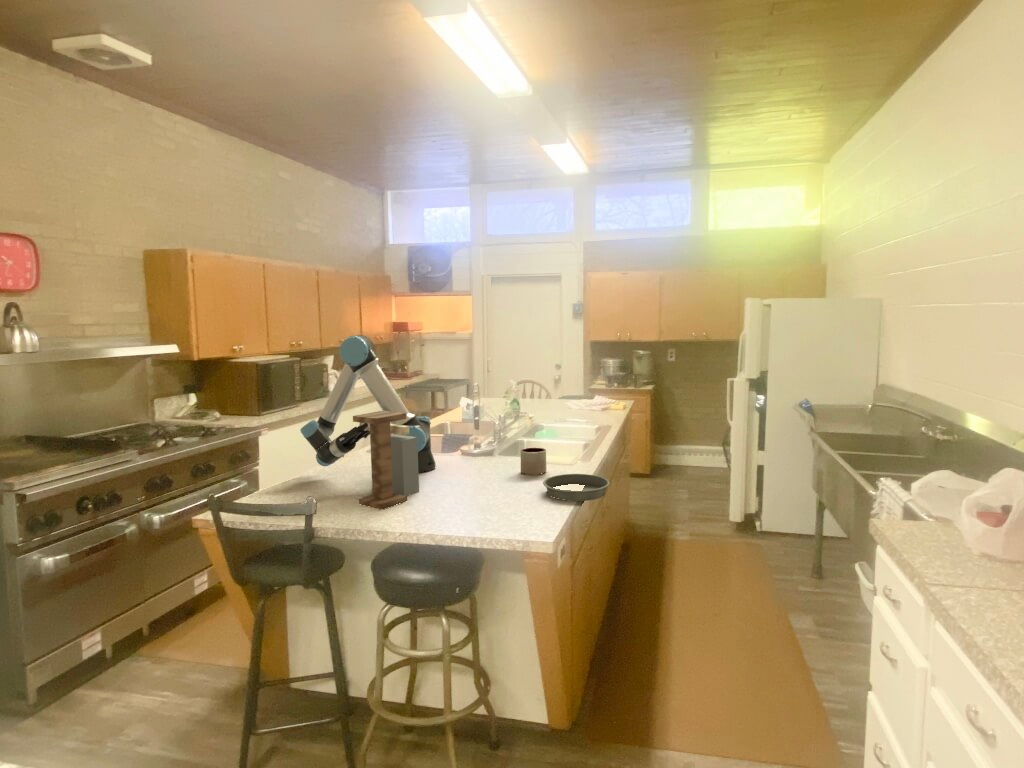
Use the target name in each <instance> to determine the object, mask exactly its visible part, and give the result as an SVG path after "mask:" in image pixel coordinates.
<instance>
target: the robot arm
mask: <svg viewBox="0 0 1024 768" xmlns="http://www.w3.org/2000/svg"><path fill="white" fill-rule="evenodd" d="M375 350H376V349H375V345H374V342H373V340H372V339H371V338H370V337H368V336H367V335H362V334H359V335H358V334H357V335H351V336H349V337H346V339H344V340H342V343H341V344H340V346H339V349H338V353H339V357H340V359H341V361H342V362H343V363H344V365H343V367H342V370H341V371H340V374H339V376H338V377H337V380H336V382H335V384H334V386H333V388H332V390H331V391H330V394H329V395H328V399H327V400H326V403H325V404H324V406H323V408H322V411H321V412H320V415H319V417H318V420H317V421H316V420H315V419H312V420H310V421H308V422H307V423H306V424H305V425H303V426H302V427H301V428H300V433H301V434H302V436H303V438H305V439H306V441H307V442H308V443H309V445H310V446H311V448H313V450H314V451H315V459H316V460H315V461H316V462H317V464H318V465H320V466H322V467H329V466H332V464H334V463H336V462H337V461H338V460H340V459H341V458H344V457H345V455H346V454H348V453H350V452H351V451H352V450H354V449H356V445H357V443H358V442H359V441H360V440H361V439H367V437H369V436H370V431H367V429H369V428H370V424H369V423H363V424H362V426H361V425H360V424H359V426H354V427H353V428H351V429H350V430H349V431H347V432H343V433H341V434H340V435H339V436H337V437H336V438H334V439H333V440H332V439H331V438H330V436H332V435H333V433H334V431H335V426H336V425H337V422H338V420H339V419H340V417H341V414H342V412H343V410H344V408H345V406H346V403H347V401H348V399H349V398H350V396H351V393H352V391H353V389H354V387H355V385H356V383H358V382H357V381H358V380H359V377H360V378H361V380H362V381H363V382H364V384H365V386H366V387H367V389H368V390H369V392H370V393H371V395H372V396H373V398H374V400H375V401H376V402H377V404H378V406H379V407H380V409H381V411H389V412H399V413H406V419H402V420H397V421H392V422H390V424H396V425H405V426H409V434H407V435H404V436H412V437H417V444H418V473H424V471H426V472H430V471H429V470H431V471H433V470H432V469H434V468H435V467H437V466H436V460H435V457H434V455H433V453H432V441H431V440H432V438H431V435H432V434H431V424H432V423H431V418H430V417H429V416H416V414H415V413H411V412H410V411H409V409H407V407H406V405H405V404H404V402H403V401H402V399H401V398H400V396H399V395H398V392H397V390H395V389H394V387H393V385H392V384H391V382H390V381H389V378H387V375H386V374H385V373H384V372H383V370H382V368H381V367H380V365H379V360H380V359H379V357H378V356H377V354H376V353H375ZM397 435H398V434H397ZM435 469H436V468H435ZM435 469H434V470H435Z"/></svg>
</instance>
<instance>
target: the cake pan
mask: <svg viewBox="0 0 1024 768" xmlns="http://www.w3.org/2000/svg"><path fill="white" fill-rule="evenodd" d="M568 484H579V485H585V486H584V488H583V490H582V491H571V490H560V489H555V488H553V487H556V486H561V485H568ZM610 484H611V483H610V481H609V480H608V479H607V478H605V477H602V476H600V475H595V474H587V473H567V474H566V473H565V474H558V475H557V474H556V475H552V476H549V477H547V478H545V479H544V480H543V482H542V485H543V486H544V487H545V488H546V490H547V494H548V496H549V495H550V496H549V497H551V496H552V497H551V498H553V497H555V498H554V499H556V498H559V499H558V500H561V499H565V500H564V501H568V500H572V501H571V502H584V501H585V502H586V501H592V500H593V501H594V500H598V499H601V498H602V497H604V496H605V495H606V492H607V488H608V487H609V486H610Z"/></svg>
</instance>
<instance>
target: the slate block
mask: <svg viewBox="0 0 1024 768" xmlns="http://www.w3.org/2000/svg"><path fill="white" fill-rule="evenodd" d="M369 443H370V446H371V441H370V442H369ZM391 458H392V483H393V493H395V494H400V495H404V496H406V495H407V496H410V495H413V494H412V493H414V494H416V492H417V493H419V492H420V481H419V480H420V479H419V478H420V476H419V473H420V472H418V444H417V437H412V436H404V435H397V434H391ZM371 470H372V465H371ZM371 488H372V487H371ZM371 491H373V488H372V489H371ZM409 494H410V495H409Z"/></svg>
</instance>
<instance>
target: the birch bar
mask: <svg viewBox="0 0 1024 768" xmlns="http://www.w3.org/2000/svg"><path fill="white" fill-rule="evenodd" d="M358 423H359V426H360V425H361V426H362V424H363V423H360V422H358ZM367 431H370V428H369V429H367ZM390 432H391V434H398V435H407V434H409V426H405V425H396V424H391V423H390Z"/></svg>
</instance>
